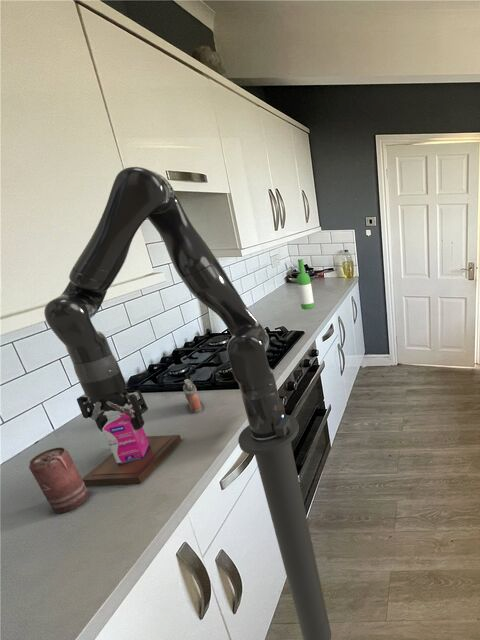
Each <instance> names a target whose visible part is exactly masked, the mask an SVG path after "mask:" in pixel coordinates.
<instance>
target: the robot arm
mask: <svg viewBox="0 0 480 640" xmlns="http://www.w3.org/2000/svg"><path fill="white" fill-rule="evenodd" d="M146 220H148V221H149V222H150V223H151V225H152V226H153V228H155V230H156V231H157V232H158V234H159V236H160V237H161V240H162V241H163V243H164V247H165V248H166V251H167V254H168V257H169V260H170V261H171V264H172V265H173V266H172V267H173V268H174V270H175V272H176V274H177V276H179V278H180V279H181V281H182V283H183V284H184V286H186V288H187V289H188V291H189V292H190V294H191V295H192V296H193V297H194V298H196V299H197V300H198V301H199V302H200V303H201V304H203V305H204V306H206V308H208V309H210V310H211V311H212V312H213V313H215V314H216V315H217V316H218V317H219V318H220V320H221V321H222V322H223V323H224V325H225V327H226V328H227V330H228V331H229V334H230V335H231V338H230V339H229V341H228V343H227V345H226V355H227V360H228V362H229V366H230V368H231V372H232V375H233V379H234V380H235V381H236V382H237V383H238V387H239V390H240V395H241V399H242V402H243V406H244V410H245V414H246V418H247V422H248V425H249V426H250V429H251V435H252V438H253V439H254V440H256V441H261V442H263V441H269V440H272V439H275V438H277V437H281V436H286V435H288V434H290V433H291V428H290V426H291V424H290V420H289V418H286V415H287V414H286V410H285V404H284V399H283V398H280V395H279V391H278V387H277V381H276V377H275V372H274V370H273V368H272V367H270V364H269V360H268V357H267V351H268V348H269V345H270V336H269V334H268V332H267V330H266V329H265V328H264V326H263V325H262V324H261V322H259V321H258V320H257V318H256V317H255V316H254V314H253V313H252V312H251V311H250V309H249V308H248V306H247V305H246V304H245V301H244V300H243V299H242V297H241V295H240V294H239V292H238V290H237V289H236V287H235V286H234V284H233V282H232V280H231V279H230V278H229V276H228V273H226V271H225V269H224V268H223V266H222V265H221V263H220V261H219V259H218V258H217V257H216V256H215V254H214V253H213V252H212V250H211V249H210V247H209V246H208V244H207V243H206V242H205V239H203V238H202V236H201V235H200V233H199V232H198V231H197V230H196V228H195V227H194V226H193V224H192V222H191V221H190V219H189V217H188V215H187V214H186V212H185V209H184V208H183V206H182V203H181V202H180V200H179V198H178V196H177V194H176V192H175V190H174V188H173V185H172V184H171V183H170V182H169V181H168V179H166V178H165V176H163V175H161V174H160V173H158V172H156V171H153V170H150V169H148V168H145V167H140V166H129V167H125V168H124V169H123V168H122V170H120V171H119V172H118V173H117V174H116V176H115V178H114V181H113V183H112V187H111V189H110V192H109V195H108V199H107V202H106V205H105V207H104V210H103V212H102V215H101V218H100V219H99V221H98V224H97V225H96V227H95V230H94V231H93V233H92V235H91V237H90V239H89V241H87V244H86V245H85V247H84V248H83V250H82V252H81V253H80V255H79V256H78V258H77V260H76V261H75V263H74V265H73V267H72V268H71V270H70V272H69V275H68V278H69V281H68V284H67V285H66V287H65V289H64V290H63V291H62V293H61V294H60V295H59V296H57V297H55V298H53V299H52V300H50V301H48V303H46V305H45V306H44V311H43V312H44V313H43V314H44V319H45V321H46V323H47V325H48V326H49V328H50V330H51V331H52V332H53V333H54V334H55V336H56V337H57V338H58V339H59V341H60V342H61V343H62V344H63V345H64V347H65V350H66V351H67V354H68V356H69V359H70V361H71V363H72V366H73V370H74V373H75V375H76V377H77V380H78V382H79V384H80V386H81V388H82V391H83V392H84V394H82V395H81V396H79V397H76V402H77V405H78V407H79V409H80V412H81V415H82V417H83V418H84V419H88V418H90V419H91V420H93V421H94V422H95V424H96V426H97V429H99V431H100V432H103V431H102V429H103V427H104V426H105V424H106V423H107V421H108V420H109V418H108V417H107V414H105V413H106V412H110V411H111V412H119V413H120V414H121V415H122V414H126V415H128V416H129V417H130V418H131V422H132V424H133V426H134V429H135V430H139V429H140V428H142V427H143V428H144V426H145V420H144V417H143V414H145V413H146V412H147V411H148V410H149V407H148V405H147V402H146V400H145V398H144V397H143V394H142V392H141V390H136V391H134V392H128V391H127V390H126V384H127V383H126V381H125V378H124V375H123V373H122V371H121V370H122V369H121V368H120V366H119V362H118V360H117V358H116V357H115V355H114V354H113V351H112V349H111V347H110V344H109V341H108V339H107V337H106V335H105V334H104V333H103V332H101V331H100V330H96V328H95V326H94V324H93V322H92V320H91V319H92V318H93V317H94V316H95V315H96V314H97V313H98V311H99V309H100V308H101V306H102V304H103V303H104V300H105V298H106V295H107V294H108V293H107V292H108V290H109V289H110V287H111V286H112V285H113V283H114V282H115V280H116V279H117V277H118V275H119V273H120V272H121V270H122V269H123V267H124V265H125V262H126V260H127V258H128V255H129V252H130V248H131V245H132V242H133V239H134V238H135V236H136V233H137V232H138V231H139V229H140V227H141V226H142V224H143V223H144V222H145V221H146ZM126 405H127V406H126ZM131 410H132V411H131ZM287 431H288V432H287Z"/></svg>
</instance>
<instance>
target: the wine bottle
mask: <svg viewBox="0 0 480 640" xmlns="http://www.w3.org/2000/svg"><path fill="white" fill-rule="evenodd" d="M297 264H298V270H299V273H298V275H297V276H296V283H297V290H298V295H299V302H300V307H301V309H302V310H311V309H314V308H315V300H314V294H313V287H312V282H311V277H310V275H309V274H308V273H306V270H305V263H304V259H302V258H301V259H300V258H299V259H297Z"/></svg>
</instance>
